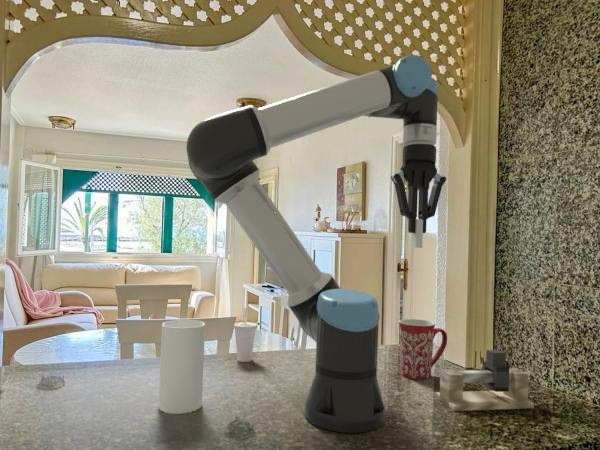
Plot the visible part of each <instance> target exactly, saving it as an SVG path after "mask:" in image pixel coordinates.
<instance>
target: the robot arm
mask: <svg viewBox="0 0 600 450" xmlns="http://www.w3.org/2000/svg"><path fill="white" fill-rule="evenodd" d="M432 76H433V75H432V69H431V66H430V64H429V63H428V62H427V60H426V59H425V58H424V57H422V56H421V55H417V54H408V55H405V56H404V57H402V58H400V59H398V60H397V61H396V62H395V63H394V64H392V65H389V66H388V65H387V66H386V67H383V68H381V69H377V70H374V71H371V72H367V73H365V74H361V75H358V76H355V77H352V78H349V79H345V80H342V81H339V82H336V83H334V84H330V85H327V86H324V87H320V88H319V89H318V88H317V89H314V90H311V91H309V92H305V93H302V94H298V95H296V96H293V97H290V98H287V99H283V100H280V101H277V102H274V103H271V104H268V105H264V106H262V107H258V108H257V107H256V106H253V105H252V104H250V105H246V106H243V107H239V108H237V109H233V110H229V111H226V112H222V113H219V114H216V115H213V116H210V117H208V118H206V119H203V120H202V121H200V122H198V124H196V125H195V126H194V127H193V128H192V130H191V132H189V134H188V138H187V140H186V155H187V161H188V165H189V168H190V171H191V173H192V174H193V176H194V177H195V178H196V179H197V180H198V181H199V182H200V183H201V184H202V186H204V188H205V190H206V191H207V192H208V194H209V195H210V196H211V198H212V200H213V201H214V202H215V203H222V204H225V206H226V207H227V208H228V210H229V211H230V213H231V215H232V216H233V217H234V218H235V220H236V221H237V222H238V224H239V226H240V227H241V228H242V230H243V231H244V233H245V234H246V236H247V237H248V238H249V239H250V242H251V243H252V244H253V246H254V247H255V248H256V249H257V251H258V253H259V254H260V256H261V257H262V258H263V260H264V261H265V262H266V264H267V266H268V267H269V269H270V270H271V271H272V273H273V274H274V276H276V278H277V280H278V281H279V282H280V284H281V285H282V287H283V288H284V290H285V291H286V293H287V294H288V296H287V297H288V298H287V303H286V304H287V306H288V308H289V309H290V310H291V312H292V313H293V315H294V316H295V318H296V319H297V321H298V323H299V326H300V328H301V329H302V331H303V333H304V334H306V335H307V336H308V337H309V338H311V339H312V340H313V341H314V342H315V343H316V344H315V372H314V373H315V374H314V376H313V379H312V382H311V385H310V388H309V391H308V392H307V393H308V394H307V396H306V399H305V402H304V403H305V404H304V417H305V419H306V420H307V421H308V422H309V423H310V424H312V425H314V426H316V427H318V428H321V429H324V430H327V431H332V432H337V433H348V434H357V433H358V434H359V433H360V434H361V433H367V432H372V431H375V430H377V429H379V428H381V427H382V426H383V425H384V424H385V421H386V407H385V406H386V405H385V403H384V400H383V396H382V393H381V389H380V386H379V382H378V376H377V373H378V351H379V350H378V349H379V348H378V347H379V346H378V345H379V325H380V324H379V323H380V322H379V321H380V312H379V302H378V300H377V299H376V298H375V297H374V295H372V294H370V293H367V292H365V291H359V290H356V289H351V288H350V289H349V288H341V287H340V286H339V284H338V283H337V281H336V280H335V279H334V276H333V275H332V274H331V273H329V272H324V271H323V272H322V271H321V270H320V269H319V267H318V266H317V264H316V263H315V261H314V260H313V258H312V257H311V256H310V254H309V253H308V251H307V250H306V248H305V247H304V245H303V244H302V243H301V240H299V238H298V237H297V235H296V234H295V232H294V231H293V230H292V228H291V226H290V225H289V224H288V222H287V221H286V219H285V218H284V216H283V215H282V213H281V212H280V211H279V209H278V208H277V206H276V204H275V203H274V202H273V201H272V199H271V197H270V196H269V194H268V193H267V192H266V190H265V189H264V187H263V186H262V184H261V183H260V181H259V178H260V173H261V171H260V169H259V168H258V166H257V165H256V163H255V160H257V159H259V158H262V157H266V156H268V154H269V152H270V150H271V149H272V148H274V147H277V146H280V145H283V144H285V143H289V142H291V141H295V140H297V139H300V138H303V137H305V136H309V135H312V134H314V133H317V132H321V131H323V130H327V129H329V128H332V127H335V126H338V125H340V124H344V123H346V122H349V121H351V120H354V119H358V118H360V117H367V118H382V119H383V118H384V119H393V120H394V119H396V120H403V127H402V128H403V132H402V145H403V148H402V160H401V161H402V165H401V167H400V171H398V172H397V173H394V174H392V175H391V176H390V179H391V181H392V182H393V184H394V188H395V193H396V197H397V204H398V208H399V214H400V216H402V217H405V218H406V219H407V220H408V221H407V223H408V224H407V230H408V233H409V234H411V237H410V238H411V239H410V248H414V249H415V248H418V249H419V248H420V249H423V236H424V235H423V234H426V232H427V220H428V219H429V218H433V217H435V215H436V212H437V207H438V205H439V200H440V196H441V193H442V192H441V191H442V188H443V185H444V184H445V182H446V181H447V177H446V176H443V175H440V173H438V169H437V166H436V162H437V147H436V144H437V129H438V127H437V123H438V121H437V120H438V102H439V94H438V93H439V91H438V82H437V80H436V79H435V78H434V77H432ZM404 180H405V181H406V183H407V191H408V194H407V192H406V187H405V183H404ZM431 182H433V183H432V184H433V185H432V187H431V191H430V195H429V189H430V183H431ZM407 195H408V196H407Z"/></svg>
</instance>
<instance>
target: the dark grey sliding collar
mask: <svg viewBox="0 0 600 450" xmlns="http://www.w3.org/2000/svg"><path fill="white" fill-rule="evenodd" d="M485 356H486V359H485V361H482V370H493V371H494V382H490V383H481V384H482V385H483V386H485V387H487V388H489V389H490V390H491V391H495V392H505V391H509V368H510V367H509V366H507V365H506V364H507V363H506V361H507V353H506V352H505V351H502V350H500V349H486V354H485Z"/></svg>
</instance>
